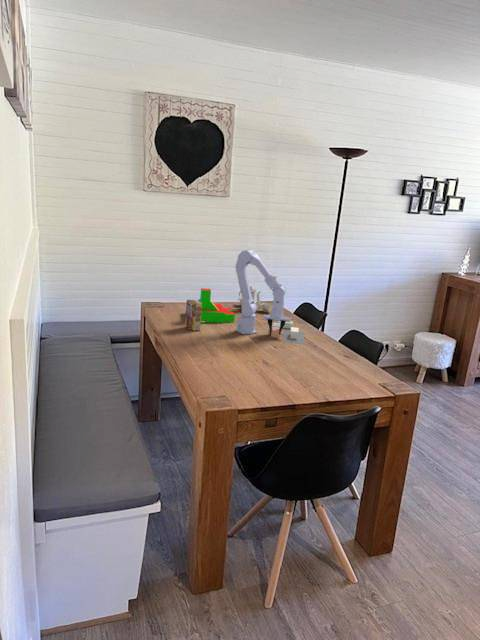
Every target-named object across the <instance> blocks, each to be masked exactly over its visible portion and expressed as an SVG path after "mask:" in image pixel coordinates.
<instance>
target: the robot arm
mask: <svg viewBox="0 0 480 640" xmlns="http://www.w3.org/2000/svg"><path fill="white" fill-rule="evenodd" d="M248 265H253V266H255V267H256V269H257V270H258V272H260V273H261V275H262V276H263V277H264V282H265V284H266V285H267V286H268V287H269V289H270V290H271V291H272V296H273V300H272V304H273V307H272V310H271V315H269V314H268V315H266V314H265V315H263V316H262V320H267V324H268V327H269V333H270V335H271V331H272V326H273V321H274V322H275V321H278V322H279V321H281V323H280V330H279V336H280V335H281V333H282V330H283V329H284V328H283V326H284V325H285V322H290V321H292V320H291V317H286V316H283V315H284V307H285V306H284V305H285V296H286V293H287V288H286V287H285V286H284V285H283V284H282V283H280V281H279V280H278V279H277V278H278V277H277V275H274V273H270V271H269V270H268V269H267V267H266V265H265V264H264V262H263V261H262V259H261V258H260V256H259V255H258V254H257V253H256V252H255V250H254V249H253V248H247V249H246V250H245V249H244V250H242V251H241V252H240V253H239V254H238V255H237V260H236V263H235V272H236V276H237V280H238V281H237V282H238V285H239V288H240V289H239V291H241V293H240V296H241V297H242V307H241V313H242V314H241V315H240V316H238V317H237V318H236V326H235V327H236V329H235V331H236V332H238V333H240V334H242V335H249V334H257V333H258V331H257V330H255V327H256V318H257V317H256V312H257V311H258V309H257V305H256V304H255V302H254V299H253V298H252V295H251V290H250V286H251V285H250V282H249V277H248V273H247V272H248V271H247V267H248Z"/></svg>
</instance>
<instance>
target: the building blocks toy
mask: <svg viewBox="0 0 480 640" xmlns="http://www.w3.org/2000/svg"><path fill="white" fill-rule="evenodd" d="M211 292H212V290H211V288H203V287H202V288H200V298H199V299H198V300H197V301H198V302H201V303H202V310H201V321H205V322H204V323H206V322H221V323H220V324H225V323H235V317H236V316H235V315H236V314H235V312H234V311H233V309H232V307H230V308H229V307H223V306H222V304H221V303H214V302H213V301H212V300H211V295H212V294H211Z"/></svg>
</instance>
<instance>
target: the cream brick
mask: <svg viewBox="0 0 480 640" xmlns="http://www.w3.org/2000/svg"><path fill="white" fill-rule="evenodd" d="M299 329H300V328H299V327H295V326H292V327H291V329H290V331H291V332H290V339H298V333H299V332H300V331H299Z"/></svg>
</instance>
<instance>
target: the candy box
mask: <svg viewBox="0 0 480 640" xmlns="http://www.w3.org/2000/svg"><path fill="white" fill-rule="evenodd" d="M201 310H202V303H201V302H198V300H196V299H193V298H192V299H191V298H190V299H186V307H185V322H184V325H185V326H186V327H188V328H190V329H192V330H194V331H193V332H196V331H195V330H200V331H201V323H202V322H201ZM185 326H184V327H185ZM186 327H185V328H186ZM188 328H187V329H188ZM190 329H189V330H190ZM192 330H191V331H192Z"/></svg>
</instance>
